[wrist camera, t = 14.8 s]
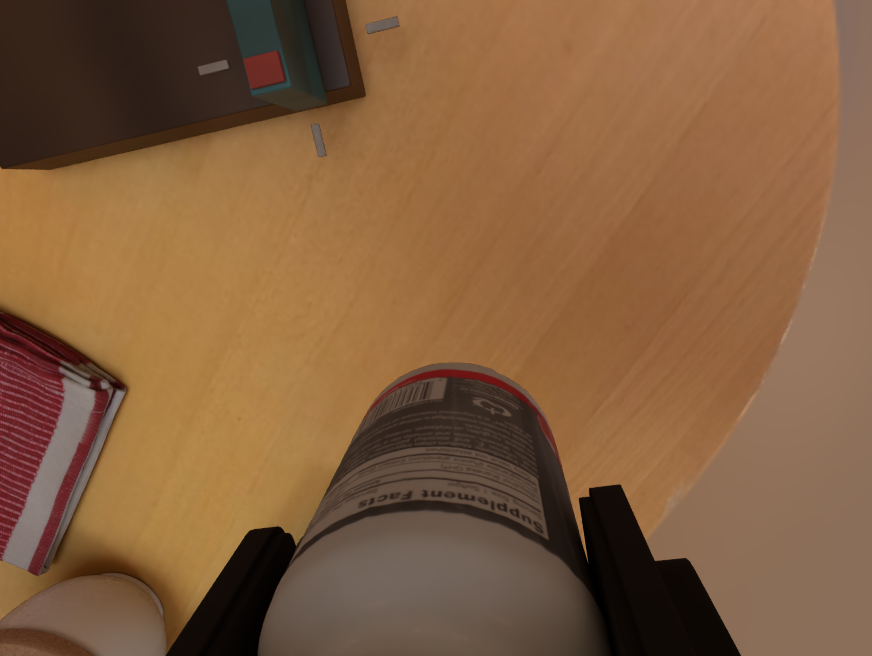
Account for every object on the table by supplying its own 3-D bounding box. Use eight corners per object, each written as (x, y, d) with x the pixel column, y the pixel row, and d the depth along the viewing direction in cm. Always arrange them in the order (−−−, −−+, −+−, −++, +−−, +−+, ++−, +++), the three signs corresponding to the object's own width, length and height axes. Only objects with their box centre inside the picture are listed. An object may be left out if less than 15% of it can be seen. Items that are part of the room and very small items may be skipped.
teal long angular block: (263, -13, 22) (205, -63, 17) (298, -22, 21) (249, -76, 17) (294, 112, 23) (248, 95, 18) (328, 104, 23) (289, 85, 18)
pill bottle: (543, 538, 15) (647, 1163, 5) (361, 520, 15) (162, 1072, 6) (566, 363, 13) (765, 812, 4) (362, 348, 14) (91, 722, 4)
